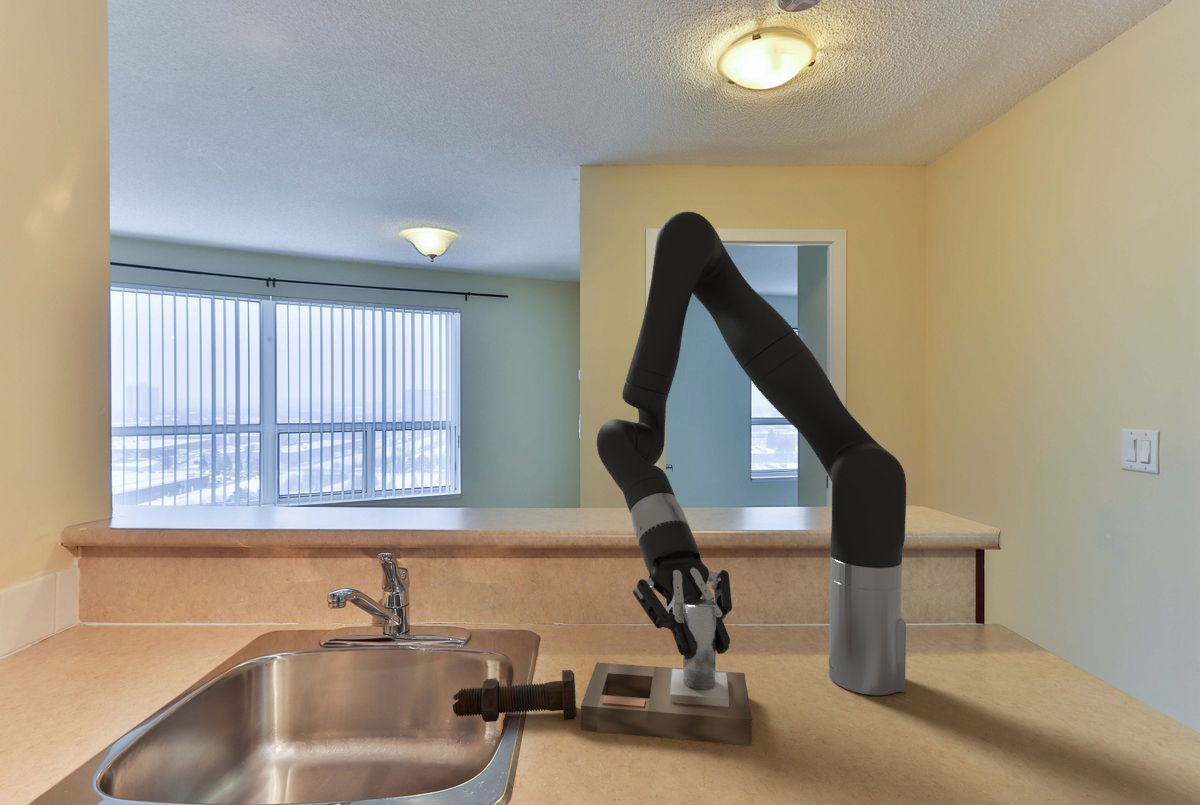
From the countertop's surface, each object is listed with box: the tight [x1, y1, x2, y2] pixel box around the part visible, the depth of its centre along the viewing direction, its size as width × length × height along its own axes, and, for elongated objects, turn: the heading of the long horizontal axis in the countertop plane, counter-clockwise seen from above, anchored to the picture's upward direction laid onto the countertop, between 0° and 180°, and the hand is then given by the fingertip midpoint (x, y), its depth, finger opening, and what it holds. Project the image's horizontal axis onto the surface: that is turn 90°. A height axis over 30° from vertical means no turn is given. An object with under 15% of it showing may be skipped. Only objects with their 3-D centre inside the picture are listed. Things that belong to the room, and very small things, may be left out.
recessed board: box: [580, 661, 753, 747], centre depth 79 cm, size 20×12×4 cm, turn 81°
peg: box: [682, 598, 717, 691], centre depth 78 cm, size 4×4×10 cm
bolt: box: [452, 669, 577, 723], centre depth 78 cm, size 6×5×15 cm
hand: (707, 653), depth 77 cm, fingers closed on peg, 4 cm apart
